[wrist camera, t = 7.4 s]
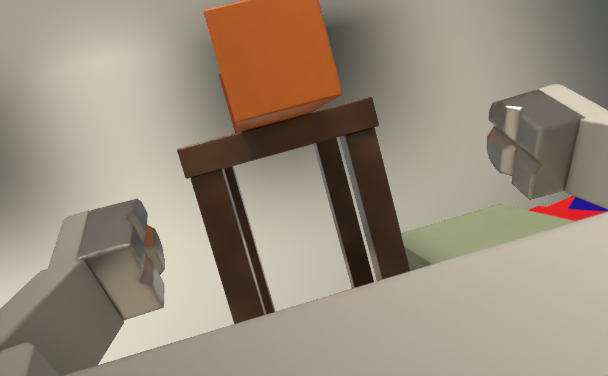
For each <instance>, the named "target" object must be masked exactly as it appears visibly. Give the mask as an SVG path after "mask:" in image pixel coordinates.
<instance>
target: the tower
mask: <svg viewBox="0 0 608 376" xmlns="http://www.w3.org/2000/svg"><path fill="white" fill-rule="evenodd" d="M204 15H205V18H206V22H207V25H208V29H209V32H210V35H211V39H212V43H213V46H214V50H215V53H216V57H217V60H218V64H219V67H220V71H221V74H219V78H220V81H221V84H222V88H223V91H224V95H225V98H226V102H227V106H228V109H229V112H230V116H231V120H232V123H233V127H234V130H235V133H239V132H243V131H246V130H250V129H254V128H258V127H261V126H265V125H269V124H272V123H276V122H280V121H284V120H287V119H291V118H295V117H298V116H302V115H306V114H310V113H311V112H313V111H315V110H316V109H318V108H320V107H322V106H323V105H325V104H327V103H329V102H330V101H332V100H334V99H335V98H337V97H339V96H341V95H342V89H341V85H340V81H339V78H338V74H337V70H336V66H335V62H334V58H333V55H332V50H331V46H330V43H329V39H328V35H327V31H326V27H325V23H324V19H323V15H322V11H321V8H320V4H319V0H244V1H240V2H236V3H232V4H228V5H223V6H220V7H215V8H211V9H208V10H205V11H204Z"/></svg>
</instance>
